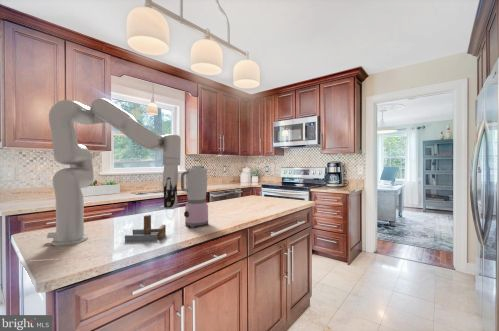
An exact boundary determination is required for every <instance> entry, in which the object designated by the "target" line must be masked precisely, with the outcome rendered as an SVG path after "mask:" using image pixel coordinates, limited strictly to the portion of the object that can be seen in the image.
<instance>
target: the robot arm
mask: <svg viewBox="0 0 499 331" xmlns="http://www.w3.org/2000/svg"><path fill="white" fill-rule="evenodd" d="M48 123H49V127H50V133H51V144H52V151H53V157H54V160H55V161H56V162H57V164H60V165H64V166H65V165H66V166H67V165H69V167H65V168H62V169H61V168H60V169H59V170H58V171H56V172H55V173H54V174H53V177H52V187H53V191H54V195H55V196H54V197H55V231H54V232H51V231H50V232H48V233H47V235H46V239H51V238H52V241H51V245H52V246H54V247H63V246H71V245H77V244H80V243H83V242H86V241H87V240H89V236H88V235H87V234H85V221H84V220H85V218H84V217H85V215H84V214H85V211H84V209H85V208H84V206H85V205H84V204H85V203H84V196H83V192H82V189H85V188H88V187H89V186H90V185H91V184H92V183H93V182H94V176H95V175H94V168H93V167H94V166H93V160H92V159H93V158H92V154H91V151H90V150H89V149H88V148H87V146H85V145H83V144H79V143H78V137H77V136H78V135H77V130H76V129H75V126H74V124H73V123H77V124H81V125H85V126H87V125H88V126H89V125H91V126H92V125H99V124H105V123H106V124H108V125H110V126H111V127H113V128H114V129H116V130H118V131H119V132H120V133H122V134H123V135H125V136H126V137H127V138H129V139H130V140H132V141H134V143H136V144H137V145H139V146H141V147H143V148H144V149H146V150H150V151H155V152H157V151H162V166H163V171H162V188H163V189H164V188H165V185H166V183H167V188H166V195H168V202H171V200H172V195H173V188H174V187H175V185H177V186H178V184H179V183H178V182H179V166H181V145H182V144H181V141H182V140H181V138H182V137H181V136H180V135H178V134H172V133H171V134H169V133H167V134H164V135H161V134H158V133H155V132H154V131H152V130H150V129H149V128H147V127H146V126H145V125H143V124H141V123H140V122H139V121H137V120H136V119H135V117H134V116H133V115H132V114H130V113H128V112H127V111H125V110H124V109H122V108H121V107H119V106H118V105H117V104H116V103H115V102H114V103H113V102H112V101H111V100H109V99H106V98H102V97H99V98H95V99H94V100H93V101H92V102H91V105H89V106H87V105H86V104H82V103H81V102H78V101H75V100H72V99H61V100H59V101H57V102H55V103H54V104H53V106H51V108H50V110H49V113H48ZM170 186H172V188H170ZM171 189H172V191H171ZM169 197H170V198H169ZM169 199H170V201H169Z"/></svg>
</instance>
